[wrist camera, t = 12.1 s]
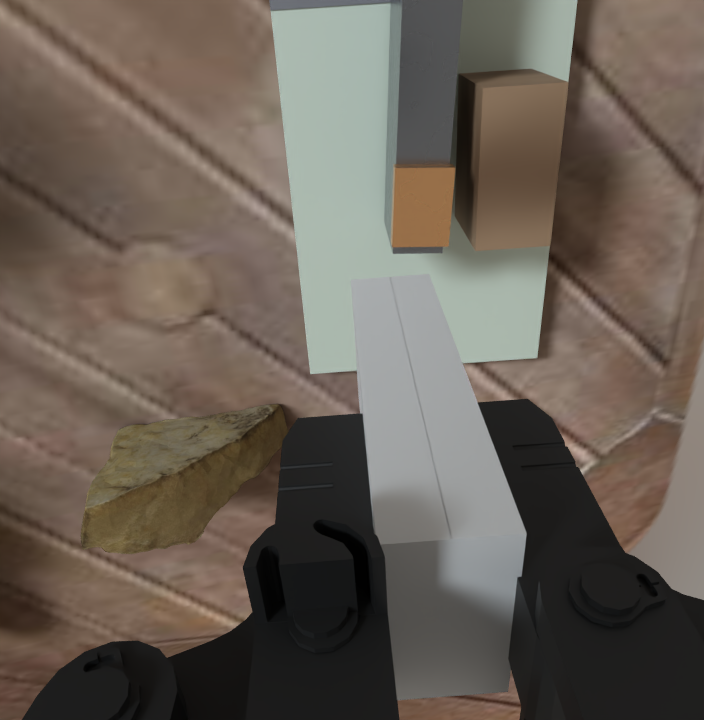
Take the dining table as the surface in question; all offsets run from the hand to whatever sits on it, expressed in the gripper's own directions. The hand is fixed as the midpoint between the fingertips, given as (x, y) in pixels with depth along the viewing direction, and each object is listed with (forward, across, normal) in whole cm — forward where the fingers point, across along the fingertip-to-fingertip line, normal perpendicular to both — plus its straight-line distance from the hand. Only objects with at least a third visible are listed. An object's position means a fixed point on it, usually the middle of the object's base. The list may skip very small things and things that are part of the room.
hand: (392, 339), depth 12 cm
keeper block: (+17, -6, 0) cm, 18 cm away
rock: (+19, +10, +16) cm, 27 cm away
